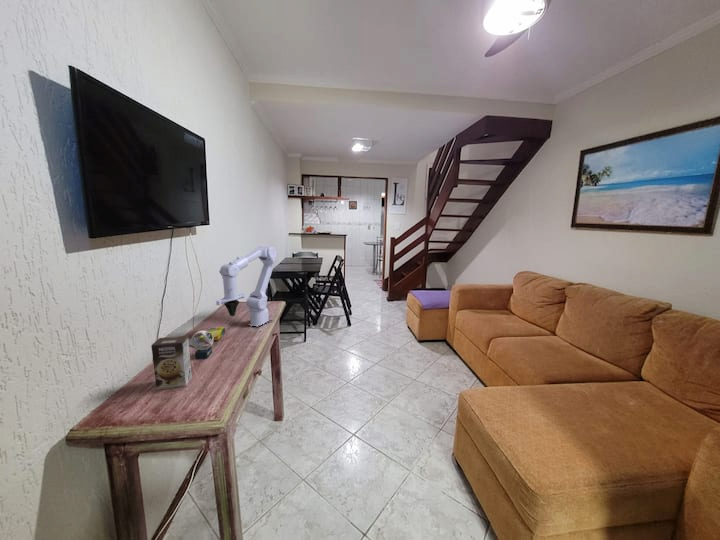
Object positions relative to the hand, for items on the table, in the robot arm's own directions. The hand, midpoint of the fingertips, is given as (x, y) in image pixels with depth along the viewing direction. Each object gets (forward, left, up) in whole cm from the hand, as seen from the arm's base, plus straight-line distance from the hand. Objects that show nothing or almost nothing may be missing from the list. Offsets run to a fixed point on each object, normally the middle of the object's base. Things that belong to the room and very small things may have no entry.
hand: (232, 315), depth 130 cm
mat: (+10, -8, -10) cm, 17 cm away
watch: (+20, +7, -11) cm, 24 cm away
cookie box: (+37, +16, -11) cm, 42 cm away
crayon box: (+2, -9, -8) cm, 12 cm away
